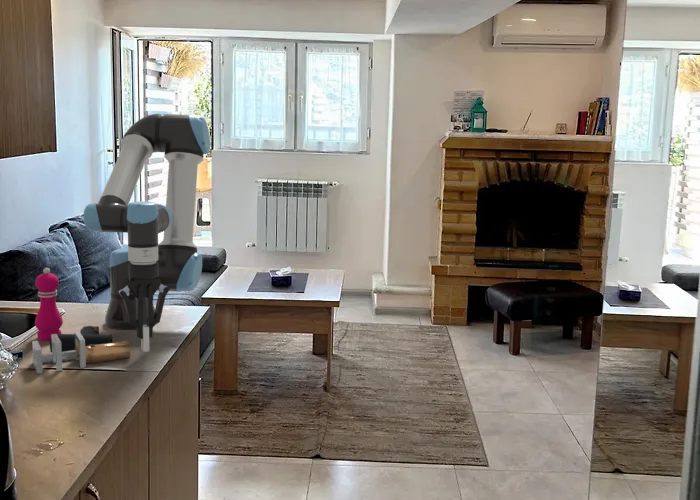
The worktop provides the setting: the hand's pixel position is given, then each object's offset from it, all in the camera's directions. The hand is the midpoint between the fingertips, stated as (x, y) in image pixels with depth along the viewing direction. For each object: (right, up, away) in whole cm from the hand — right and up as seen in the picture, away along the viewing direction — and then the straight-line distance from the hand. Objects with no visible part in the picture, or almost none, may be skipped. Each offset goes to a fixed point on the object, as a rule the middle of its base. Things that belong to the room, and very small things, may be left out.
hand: (145, 349), depth 195 cm
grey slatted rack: (-19, -3, -10) cm, 21 cm away
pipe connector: (-17, -1, +5) cm, 18 cm away
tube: (-9, -2, -5) cm, 10 cm away
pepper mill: (-30, +2, +13) cm, 33 cm away
